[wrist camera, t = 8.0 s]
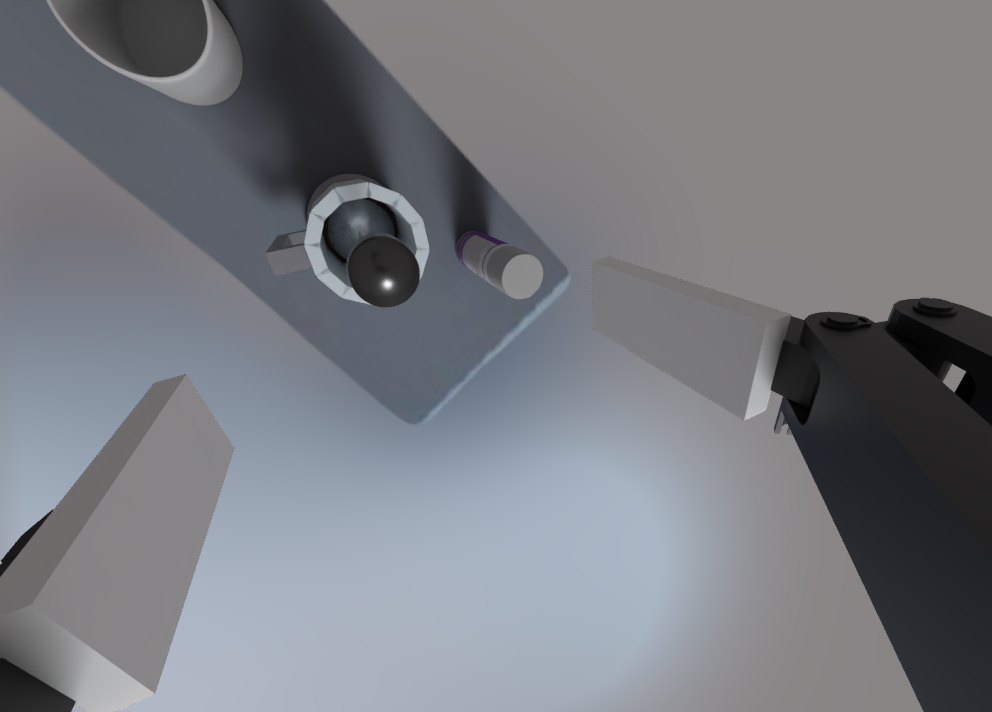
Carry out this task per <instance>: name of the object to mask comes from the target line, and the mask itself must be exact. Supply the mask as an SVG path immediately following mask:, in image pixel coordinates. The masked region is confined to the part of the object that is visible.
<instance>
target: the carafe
mask: <svg viewBox="0 0 992 712" xmlns="http://www.w3.org/2000/svg"><path fill="white" fill-rule="evenodd" d="M356 199H366V200H369V201H372V202H374V203H376V204H377V205H379V206H380V207H381V208H382V209H383V210H385V212H386V213H387V214H388V216H389V217H390V219H391V221H392V224H393V227H394V234H395V235H394V237H396V238H397V239H399V240H400V241H401V242H402V243H403V244H404V245H405V246H406V247H407V248H408V249H409V250H410V251H411V252H412V253H413V254H414V256H415V257H416V259H417V262H418V265H419V269H420V279H421V277H422V274H423V271H424V267H425V264H426V260H427V257H428V254H429V250H428V249H429V245H428V240H427V236H426V232H425V227H424V223H423V220H422V218H421V217H420V216H419V214H418V213H417V212H416V211H415V210H414V209H413V208H412V206H411V205H410V204H409V203H408V202H407V201H406V200H405V198H404V197H403V196H402V195H401V194H399V193H397V192H394V191H391V190H389V189H386V188H385V187H383V186H382V185H381V184H380V183H378V182H376V181H375V180H373V179H371V178H369V177H366V176H363V175H358V174H341V175H337V176H334V177H331V178H329V179H327V180H326V181H324V182H323V183H322V184H321V185H319V187H318V188H317V189H316V190H315V192H314V193H313V195H312V197H311V199H310V201H309V205H308V210H307V222H308V225H307V230H303V231H298V232H293V233H288V234H284V235H279V236H277V237H276V239H275V240H274V242H273V243H272V244H271V246H270V247H269V249H268V250H267V251H266V253H265V254H266V256H267V258H268V261H269V263H270V265H271V267H272V270H273V272H274V274H275V276H278V275H282V274H287V273H291V272H295V271H300V270H304V269H308V268H313V270H314V272H315V275H316V276H317V278H319V279H320V280H321V281H322V282H323V283H325V284H326V285H327V286H328V287H329V288H330V289H332V290H333V291H334V292H335V293H336V294H338V295H339V296H340V297H342V298H344V299H349V300H353V301H357V302H362V303H366V304H369V303H367V302H366V301H364V300H363V299H362V298H360V297H359V296H358V295H357V293H356V292H355V291H354V289H353V287H352V285H351V283H350V279H349V274H348V270H347V259H345V258H343V257H342V256H341V255H340V254H339V253H338V252H337V251H336V250H335V249H334V247H333V245H332V243H331V241H330V238H329V234H328V222H329V218H330V216H331V213H332V212H333V211H334V210H335V209H336V208H337V207H338V206H339V205H340V204H341V203H342V202H346V201H351V200H356ZM371 305H372V304H371Z"/></svg>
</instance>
